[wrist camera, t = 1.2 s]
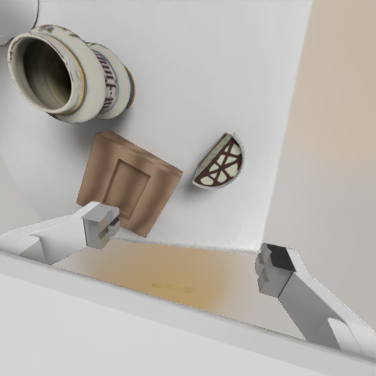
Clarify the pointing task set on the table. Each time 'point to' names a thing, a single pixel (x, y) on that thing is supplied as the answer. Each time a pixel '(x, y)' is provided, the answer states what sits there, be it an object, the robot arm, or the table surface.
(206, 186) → the food container
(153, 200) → the walnut base
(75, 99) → the apothecary jar
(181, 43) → the table surface
